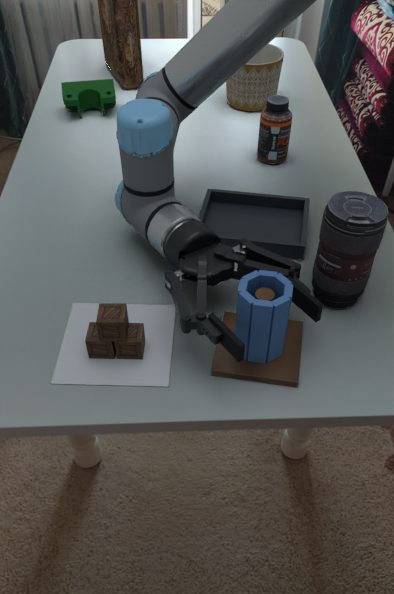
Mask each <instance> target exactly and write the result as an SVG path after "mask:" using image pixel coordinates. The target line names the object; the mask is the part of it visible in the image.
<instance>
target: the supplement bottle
mask: <svg viewBox="0 0 394 594" xmlns="http://www.w3.org/2000/svg"><path fill="white" fill-rule="evenodd" d="M266 106H267V107H266V108H264V109H263V110H261V111H260V116H259V128H258V138H257V151H256V157H257V159H258V160H259V161H260V162H263V163H265V164H269V165H277V164H281V163H283V162H285V161H286V160H287V158H288V154H289V145H290V139H291V132H292V131H291V130H292V124H293V112H292V110H290V108H289V107H290V99H289V98H288V97H287V96H284V95H282V94H281V95H280V94H277V95H273V96H270V97H268V98H267V104H266Z"/></svg>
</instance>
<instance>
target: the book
mask: <svg viewBox="0 0 394 594" xmlns="http://www.w3.org/2000/svg"><path fill="white" fill-rule="evenodd" d="M96 1H97V7H98V15H99V24H100V25H99V26H100V32H101V33H100V34H101V38H102V39H101V40H102V41H101V42H102V49H103V55H104V61H106V63H107V64H108V65H107V64H106V63H105V62H104V63H105V67H106V69H107V71H108V72H109V74H111V76H112V77H113V80H115V81H116V83H117V85H118V86H119V87H120V89H121V90H122V91H136V90H137V91H138V88H139V87H140V86H141V84H142V83H143V81H144V80H145V78H144V66H143V55H142V53H143V52H142V40H141V29H140V15H139V4H138V3H139V2H138V0H96ZM108 66H109V67H110V68H109V67H108ZM110 69H111V70H110Z"/></svg>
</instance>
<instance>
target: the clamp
mask: <svg viewBox="0 0 394 594" xmlns="http://www.w3.org/2000/svg"><path fill="white" fill-rule="evenodd" d="M60 84H61V97H62V102H63V105H65V108H66V110H68V111H70V112H74V111H75V112H77V113H78V119H83V117H82V116H83V115H82V113H83V112H84V111H87V110H88V111H89V110H99V111H101V114H102V115H101V116H102V117H106V113H105V109H110V108H114V107H115V106H116V104H117V96H116V95H117V94H116V88H115V81H114V78H105V79H103V78H101V79H91V80H75V81H64V82H60Z"/></svg>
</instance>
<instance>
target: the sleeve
mask: <svg viewBox="0 0 394 594" xmlns="http://www.w3.org/2000/svg"><path fill="white" fill-rule="evenodd" d="M277 273H278V272H274V271H265V270H259V272H258V271H257V270H256V271H254V272H251V273H249V274H247V275H245V276H243V277H242V279H240V280H239V281H238V282H239V283H238V288H237V297H236V312H235V313H236V326H235V335H236V336H237V337H238V338H239V339H240V340H241V341H242V342H243V343H244V344H245V351H244V359H245V360H247V359H248V361H249V362H257V363H264V364H265V363H266V362H267V363H269V362H271V361H273V360H274V359H276V358H278V357H280V356H281V355H282V354H283V350H284V343H285V337H286V331H287V325H288V319H290V313H291V307H292V293H293V285H292V282H291V281H290V280H288V279H287V278H286V277H285V276H283V275H282V274H281V273H279V274H277ZM259 288H269V289H271V290H273V291H274V293H275V299H274V300H273V301H267V300H258V299H255V292H256V290H258V289H259Z"/></svg>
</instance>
